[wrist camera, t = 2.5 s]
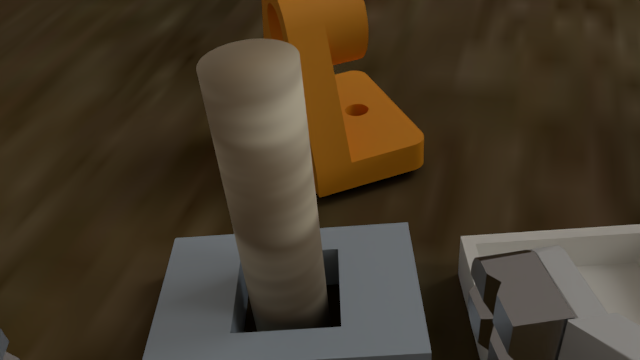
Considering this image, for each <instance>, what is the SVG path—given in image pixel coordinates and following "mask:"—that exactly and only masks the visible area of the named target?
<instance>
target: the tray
mask: <svg viewBox="0 0 640 360" xmlns="http://www.w3.org/2000/svg"><path fill="white" fill-rule="evenodd" d="M555 245H559V246H561V247H562V248H564V250H565V251H566V252H567V254H568V255H569V257H570V258H571V260H572V261H573V263H574V264H575V266H576V267H577V269H578V270H579V272H580V273H581V274H582V276H583V277H584V279H585V280H586V282H587V283H588V285H589V286H590V288H591V289H592V291H593V292H594V294H595V295H596V296H597V298H598V299H599V301H600V302H601V304H602V305H603V307H604V308H605V310H606V311H607V313H618V314H620V315H622V316H624V317H626V318H627V319H629V320H631V321H633V322H634V323H636V324H638V325H640V224H634V225H620V226H605V227H590V228H575V229H560V230H545V231H530V232H516V233H501V234H486V235H471V236H461V237H460V251H459V265H458V276H459V280H460V284H461V288H462V292H463V295H464V299H465V303H466V307H467V311H468V315H469V309H468V296H469V291H470V290H471V289H472V288H473V286H474V285H475V282H474V280H473V278H472V276H471V267H472V262H473V260H474V258H477V257H483V256H490V255H496V254H502V253H509V252H515V251H522V250H530V249H535V248H542V247H548V246H555ZM469 319H470V317H469ZM470 323H471V322H470ZM472 330H473V329H472ZM473 334H474V332H473ZM474 338H475V342H476V346H477V350H478V354H479V358H480V360H487V358H488V350H487V349H486V348H484V347H483V346H481V345H480V344H478V342H477V340H476V337H475V335H474Z"/></svg>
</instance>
